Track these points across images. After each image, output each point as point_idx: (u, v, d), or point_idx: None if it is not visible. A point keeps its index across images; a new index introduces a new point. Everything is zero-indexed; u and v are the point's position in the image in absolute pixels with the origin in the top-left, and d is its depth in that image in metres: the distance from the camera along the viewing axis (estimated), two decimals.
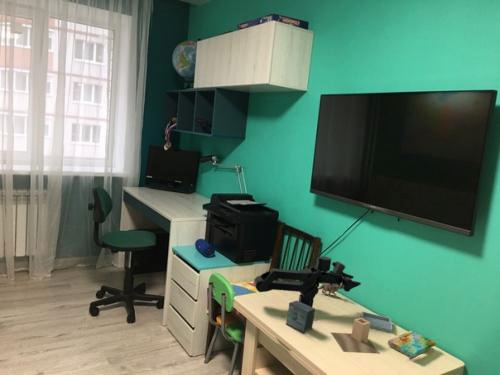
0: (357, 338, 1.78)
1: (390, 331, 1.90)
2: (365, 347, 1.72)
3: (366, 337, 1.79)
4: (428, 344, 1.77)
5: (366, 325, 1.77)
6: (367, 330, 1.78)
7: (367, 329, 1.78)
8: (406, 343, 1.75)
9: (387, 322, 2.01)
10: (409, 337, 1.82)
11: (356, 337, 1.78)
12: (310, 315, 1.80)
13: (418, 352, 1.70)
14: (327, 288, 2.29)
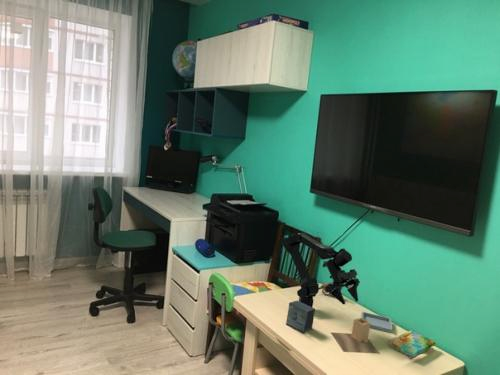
0: (357, 338, 1.78)
1: (390, 331, 1.90)
2: (365, 347, 1.72)
3: (366, 337, 1.79)
4: (428, 344, 1.77)
5: (366, 325, 1.77)
6: (367, 330, 1.78)
7: (367, 329, 1.78)
8: (406, 343, 1.75)
9: (387, 322, 2.01)
10: (409, 337, 1.82)
11: (356, 337, 1.78)
12: (310, 315, 1.80)
13: (418, 352, 1.70)
14: None
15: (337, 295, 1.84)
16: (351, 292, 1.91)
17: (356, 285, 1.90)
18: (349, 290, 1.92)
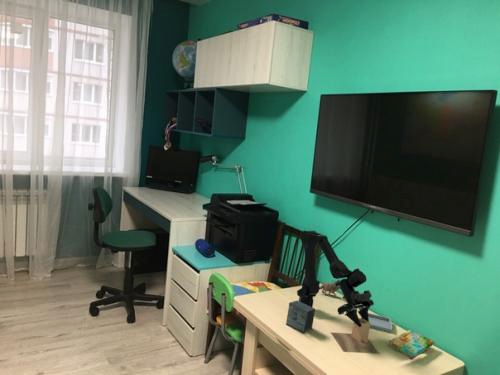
0: (357, 338, 1.78)
1: (390, 331, 1.90)
2: (365, 347, 1.72)
3: (366, 337, 1.79)
4: (427, 343, 1.77)
5: (366, 325, 1.77)
6: (367, 330, 1.78)
7: (367, 329, 1.78)
8: (406, 343, 1.75)
9: (387, 322, 2.01)
10: (408, 336, 1.82)
11: (356, 337, 1.78)
12: (310, 315, 1.80)
13: (419, 352, 1.70)
14: (327, 288, 2.29)
15: (353, 317, 1.78)
16: (362, 314, 1.82)
17: (367, 307, 1.82)
18: (360, 312, 1.84)
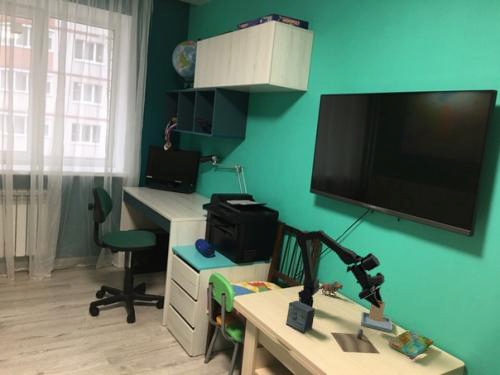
0: (376, 319, 1.86)
1: (390, 331, 1.90)
2: (365, 347, 1.72)
3: (382, 316, 1.89)
4: (427, 343, 1.78)
5: (383, 305, 1.87)
6: (383, 310, 1.88)
7: (383, 309, 1.88)
8: (406, 343, 1.75)
9: (387, 322, 2.01)
10: (408, 336, 1.82)
11: (375, 318, 1.86)
12: (310, 315, 1.80)
13: (419, 352, 1.70)
14: (327, 288, 2.29)
15: (372, 299, 1.85)
16: (374, 296, 1.92)
17: (379, 288, 1.91)
18: None
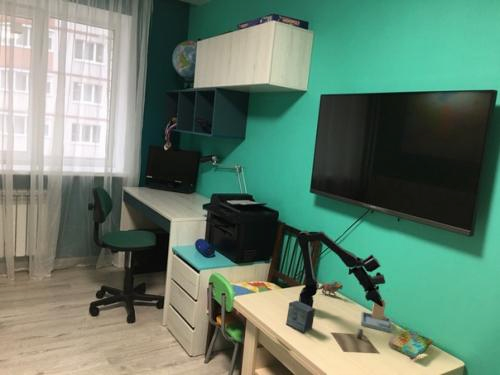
0: (379, 317, 1.95)
1: (390, 331, 1.90)
2: (365, 347, 1.72)
3: None
4: (427, 343, 1.78)
5: None
6: None
7: None
8: (406, 343, 1.75)
9: (387, 322, 2.01)
10: (407, 336, 1.82)
11: (378, 316, 1.95)
12: (310, 315, 1.80)
13: (419, 352, 1.70)
14: (327, 288, 2.29)
15: (375, 299, 1.93)
16: None
17: (378, 287, 2.00)
18: None
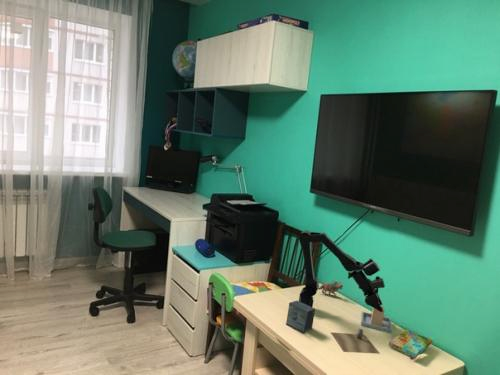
0: (378, 324, 1.95)
1: (390, 331, 1.90)
2: (365, 347, 1.72)
3: None
4: (426, 342, 1.78)
5: (384, 310, 1.96)
6: None
7: None
8: (406, 343, 1.75)
9: (387, 322, 2.01)
10: (407, 336, 1.82)
11: (377, 323, 1.96)
12: (310, 315, 1.80)
13: (419, 352, 1.70)
14: (327, 288, 2.29)
15: (375, 305, 1.92)
16: None
17: None
18: None
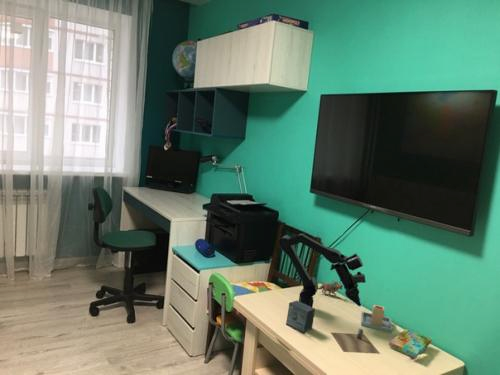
0: (378, 324, 1.95)
1: (390, 331, 1.90)
2: (365, 347, 1.72)
3: None
4: (426, 342, 1.78)
5: (384, 310, 1.96)
6: None
7: None
8: (406, 343, 1.75)
9: (387, 322, 2.01)
10: (407, 336, 1.83)
11: (377, 323, 1.96)
12: (310, 315, 1.80)
13: (419, 352, 1.70)
14: (327, 288, 2.29)
15: (354, 298, 1.93)
16: None
17: (357, 286, 2.04)
18: None
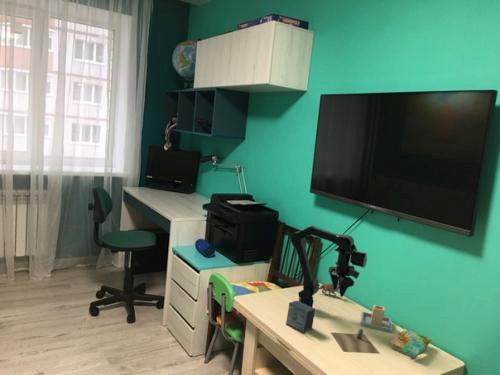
0: (378, 324, 1.95)
1: (390, 331, 1.90)
2: (365, 347, 1.72)
3: None
4: (426, 342, 1.79)
5: (384, 310, 1.96)
6: None
7: None
8: (406, 343, 1.75)
9: (387, 322, 2.01)
10: (406, 336, 1.83)
11: (377, 323, 1.96)
12: (310, 315, 1.80)
13: (420, 351, 1.71)
14: (327, 288, 2.29)
15: (343, 288, 1.92)
16: (334, 279, 2.02)
17: None
18: (333, 276, 2.02)
